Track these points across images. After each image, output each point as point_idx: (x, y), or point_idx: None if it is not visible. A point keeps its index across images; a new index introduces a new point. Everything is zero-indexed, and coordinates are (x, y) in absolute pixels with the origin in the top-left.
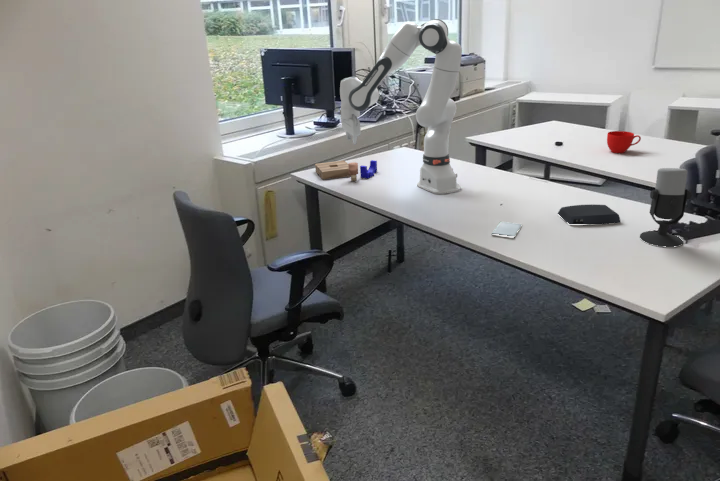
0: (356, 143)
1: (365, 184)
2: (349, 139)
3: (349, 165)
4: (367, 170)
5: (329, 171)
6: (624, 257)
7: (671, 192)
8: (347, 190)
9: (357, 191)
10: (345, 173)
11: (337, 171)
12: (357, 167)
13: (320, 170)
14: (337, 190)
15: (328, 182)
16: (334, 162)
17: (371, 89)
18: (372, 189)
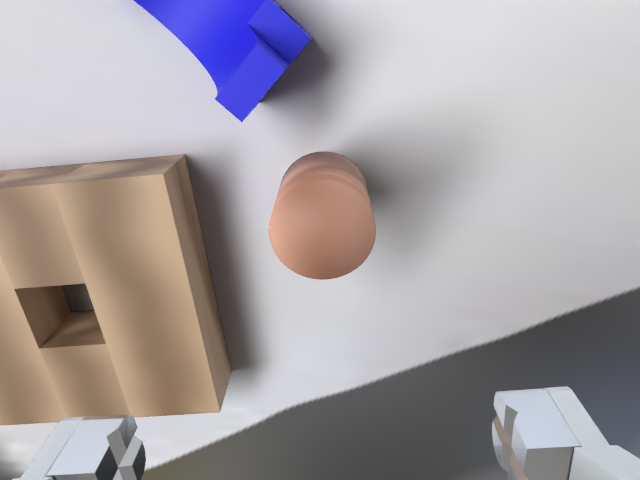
0: (571, 396)
1: (474, 105)
2: (128, 445)
3: (346, 269)
4: (255, 33)
5: (210, 363)
6: None
7: None
8: (547, 265)
9: (611, 204)
10: (191, 227)
11: (198, 301)
12: (352, 178)
13: (165, 412)
14: (510, 324)
15: (308, 348)
16: None
17: None
18: (636, 77)
